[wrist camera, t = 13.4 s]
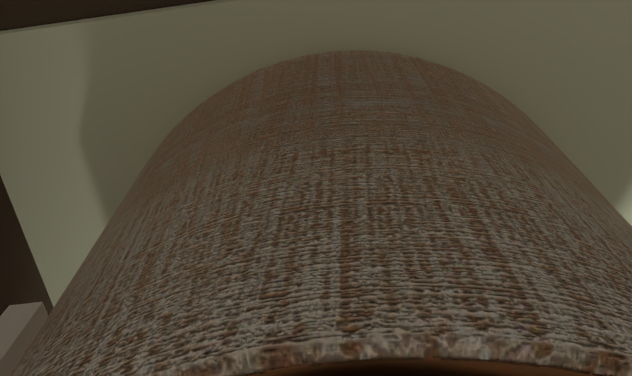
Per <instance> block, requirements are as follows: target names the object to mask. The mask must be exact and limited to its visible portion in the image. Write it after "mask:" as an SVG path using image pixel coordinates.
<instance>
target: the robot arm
mask: <svg viewBox="0 0 632 376" xmlns="http://www.w3.org/2000/svg"><path fill="white" fill-rule="evenodd" d="M47 317H48V313H47V311H46V308H45V306H44V303H43V302H35V303H26V304H17V305H9V306H8V307H7V309H6V310H5V311H4V312H3V314H2V315H1V316H0V376H9V375H10V373H11V372H12V370H13V369H14V367H15V365H16V364H17V362H18V361H19V359H20V358H21V356H22V355H23V353H24V352H25V350H26V349H27V347H28V346H29V344H30V343H31V341H32V340H33V338H34V337H35V335H36V334H37V332H38V331H39V329H40V328H41V326H42V325H43V323H44V322H45V320H46V319H47Z"/></svg>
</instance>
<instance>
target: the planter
mask: <svg viewBox="0 0 632 376" xmlns="http://www.w3.org/2000/svg"><path fill="white" fill-rule="evenodd" d="M9 376H632V226H631V225H630V224H629V223H628V222H627V221H626V220H625V219H624V217H623V216H622V215H621V214H620V213H619V212H618V211H617V210H616V209H615V208H614V207H613V206H612V204H611V203H610V202H609V201H608V200H607V199H606V198H605V197H604V196H603V195H602V194H601V193H600V191H599V190H598V189H597V188H596V187H595V186H594V185H593V184H592V183H591V182H590V181H589V180H588V178H587V177H586V176H585V175H584V174H583V173H582V172H581V171H580V170H579V169H578V168H577V167H576V166H575V165H574V164H573V163H572V161H571V160H570V159H569V158H568V157H567V156H566V155H565V154H564V153H563V152H562V151H561V150H560V149H559V148H558V147H557V146H556V144H555V143H554V142H553V141H552V140H551V139H550V138H549V137H548V136H547V135H546V134H545V133H544V132H543V131H542V130H541V129H540V128H539V127H538V126H537V125H536V124H535V123H534V122H533V121H532V120H531V119H530V118H529V117H528V116H527V115H526V114H525V113H524V112H523V111H522V110H520V109H519V108H518V107H517V106H516V105H515V104H513V103H512V102H511V101H509V100H508V99H506V98H505V97H504V96H502V95H501V94H500V93H498V92H496V91H495V90H493V89H491V88H490V87H488V86H486V85H485V84H483V83H481V82H479V81H477V80H475V79H473V78H471V77H469V76H467V75H465V74H463V73H460V72H458V71H456V70H453V69H451V68H448V67H445V66H443V65H440V64H438V63H435V62H431V61H428V60H425V59H421V58H418V57H413V56H408V55H403V54H398V53H389V52H381V51H364V50H347V51H332V52H323V53H316V54H311V55H306V56H301V57H297V58H293V59H289V60H286V61H282V62H278V63H275V64H273V65H270V66H267V67H264V68H261V69H259V70H257V71H255V72H253V73H250V74H248V75H246V76H244V77H242V78H240V79H238V80H237V81H235V82H233V83H231V84H230V85H228V86H226V87H225V88H223V89H222V90H220V91H218V92H217V93H216V94H214V95H213V96H211V97H210V98H208V99H207V100H205V101H204V102H202V103H201V104H200V105H199V106H197V107H196V108H195V109H194V110H192V111H191V112H190V113H189V114H188V115H186V116H185V117H184V118H183V119H182V120H181V121H180V122H179V123H178V124H177V125H176V126H175V127H174V128H173V129H172V130H171V132H170V133H169V134H168V135H167V136H166V137H165V138H164V140H163V141H162V142H161V143H160V145H159V146H158V148H157V149H156V150H155V152H154V153H153V154H152V156H151V157H150V159H149V160H148V162H147V163H146V165H145V166H144V168H143V169H142V171H141V172H140V174H139V175H138V177H137V178H136V180H135V181H134V183H133V185H132V186H131V188H130V189H129V191H128V192H127V194H126V195H125V197H124V198H123V200H122V202H121V203H120V205H119V206H118V208H117V209H116V211H115V213H114V214H113V216H112V217H111V219H110V220H109V222H108V224H107V225H106V227H105V228H104V230H103V231H102V233H101V235H100V236H99V238H98V239H97V241H96V243H95V244H94V246H93V247H92V249H91V250H90V252H89V254H88V255H87V257H86V258H85V260H84V261H83V263H82V264H81V266H80V268H79V269H78V271H77V272H76V274H75V275H74V277H73V278H72V280H71V281H70V283H69V285H68V286H67V288H66V289H65V291H64V292H63V294H62V295H61V297H60V298H59V300H58V302H57V303H56V305H55V306H54V308H53V309H52V311H51V312H50V314H49V315H48V317H47V319H46V320H45V322H44V323H43V325H42V326H41V328H40V329H39V331H38V332H37V334H36V335H35V337H34V338H33V340H32V341H31V343H30V344H29V346H28V347H27V349H26V350H25V352H24V353H23V355H22V356H21V358H20V359H19V361H18V362H17V364H16V365H15V367H14V369H13V370H12V372H11V373H10V375H9Z"/></svg>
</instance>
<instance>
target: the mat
mask: <svg viewBox="0 0 632 376" xmlns="http://www.w3.org/2000/svg"><path fill="white" fill-rule="evenodd" d="M347 50H364V51H381V52H389V53H398V54H403V55H408V56H413V57H418V58H421V59H425V60H428V61H431V62H435V63H438V64H440V65H443V66H445V67H448V68H451V69H453V70H456V71H458V72H460V73H463V74H465V75H467V76H469V77H471V78H473V79H475V80H477V81H479V82H481V83H483V84H485V85H486V86H488V87H490V88H491V89H493V90H495V91H496V92H498V93H500V94H501V95H502V96H504V97H505V98H506V99H508V100H509V101H511V102H512V103H513V104H515V105H516V106H517V107H518V108H519V109H520V110H522V111H523V112H524V113H525V114H526V115H527V116H528V117H529V118H530V119H531V120H532V121H533V122H534V123H535V124H536V125H537V126H538V127H539V128H540V129H541V130H542V131H543V132H544V133H545V134H546V135H547V136H548V137H549V138H550V139H551V140H552V141H553V142H554V143H555V144H556V146H557V147H558V148H559V149H560V150H561V151H562V152H563V153H564V154H565V155H566V156H567V157H568V158H569V159H570V160H571V161H572V163H573V164H574V165H575V166H576V167H577V168H578V169H579V170H580V171H581V172H582V173H583V174H584V175H585V176H586V177H587V178H588V180H589V181H590V182H591V183H592V184H593V185H594V186H595V187H596V188H597V189H598V190H599V191H600V193H601V194H602V195H603V196H604V197H605V198H606V199H607V200H608V201H609V202H610V203H611V204H612V206H613V207H614V208H615V209H616V210H617V211H618V212H619V213H620V214H621V215H622V216H623V217H624V219H625V220H626V221H627V222H628V223H629V224H630V225H631V226H632V0H215V1H208V2H201V3H194V4H187V5H180V6H173V7H166V8H159V9H152V10H145V11H138V12H131V13H124V14H117V15H110V16H103V17H96V18H89V19H82V20H75V21H68V22H61V23H54V24H47V25H40V26H33V27H26V28H19V29H11V30H4V31H0V176H1V178H2V181H3V183H4V185H5V188H6V190H7V193H8V195H9V198H10V200H11V203H12V205H13V208H14V210H15V213H16V215H17V218H18V220H19V223H20V225H21V228H22V230H23V233H24V235H25V238H26V240H27V243H28V245H29V248H30V250H31V252H32V255H33V257H34V260H35V262H36V265H37V267H38V270H39V272H40V275H41V277H42V280H43V282H44V285H45V287H46V290H47V292H48V295H49V297H50V300H51V302H52V305H53V307H54V306H55V305H56V303H57V302H58V300H59V298H60V297H61V295H62V294H63V292H64V291H65V289H66V288H67V286H68V285H69V283H70V281H71V280H72V278H73V277H74V275H75V274H76V272H77V271H78V269H79V268H80V266H81V264H82V263H83V261H84V260H85V258H86V257H87V255H88V254H89V252H90V250H91V249H92V247H93V246H94V244H95V243H96V241H97V239H98V238H99V236H100V235H101V233H102V231H103V230H104V228H105V227H106V225H107V224H108V222H109V220H110V219H111V217H112V216H113V214H114V213H115V211H116V209H117V208H118V206H119V205H120V203H121V202H122V200H123V198H124V197H125V195H126V194H127V192H128V191H129V189H130V188H131V186H132V185H133V183H134V181H135V180H136V178H137V177H138V175H139V174H140V172H141V171H142V169H143V168H144V166H145V165H146V163H147V162H148V160H149V159H150V157H151V156H152V154H153V153H154V152H155V150H156V149H157V148H158V146H159V145H160V143H161V142H162V141H163V140H164V138H165V137H166V136H167V135H168V134H169V133H170V132H171V130H172V129H173V128H174V127H175V126H176V125H177V124H178V123H179V122H180V121H181V120H182V119H183V118H184V117H185V116H186V115H188V114H189V113H190V112H191V111H192V110H194V109H195V108H196V107H197V106H199V105H200V104H201V103H202V102H204V101H205V100H207V99H208V98H210V97H211V96H213V95H214V94H216V93H217V92H218V91H220V90H222V89H223V88H225V87H226V86H228V85H230V84H231V83H233V82H235V81H237V80H238V79H240V78H242V77H244V76H246V75H248V74H250V73H253V72H255V71H257V70H259V69H261V68H264V67H267V66H270V65H273V64H275V63H278V62H282V61H286V60H289V59H293V58H297V57H301V56H306V55H311V54H316V53H323V52H332V51H347Z"/></svg>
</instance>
